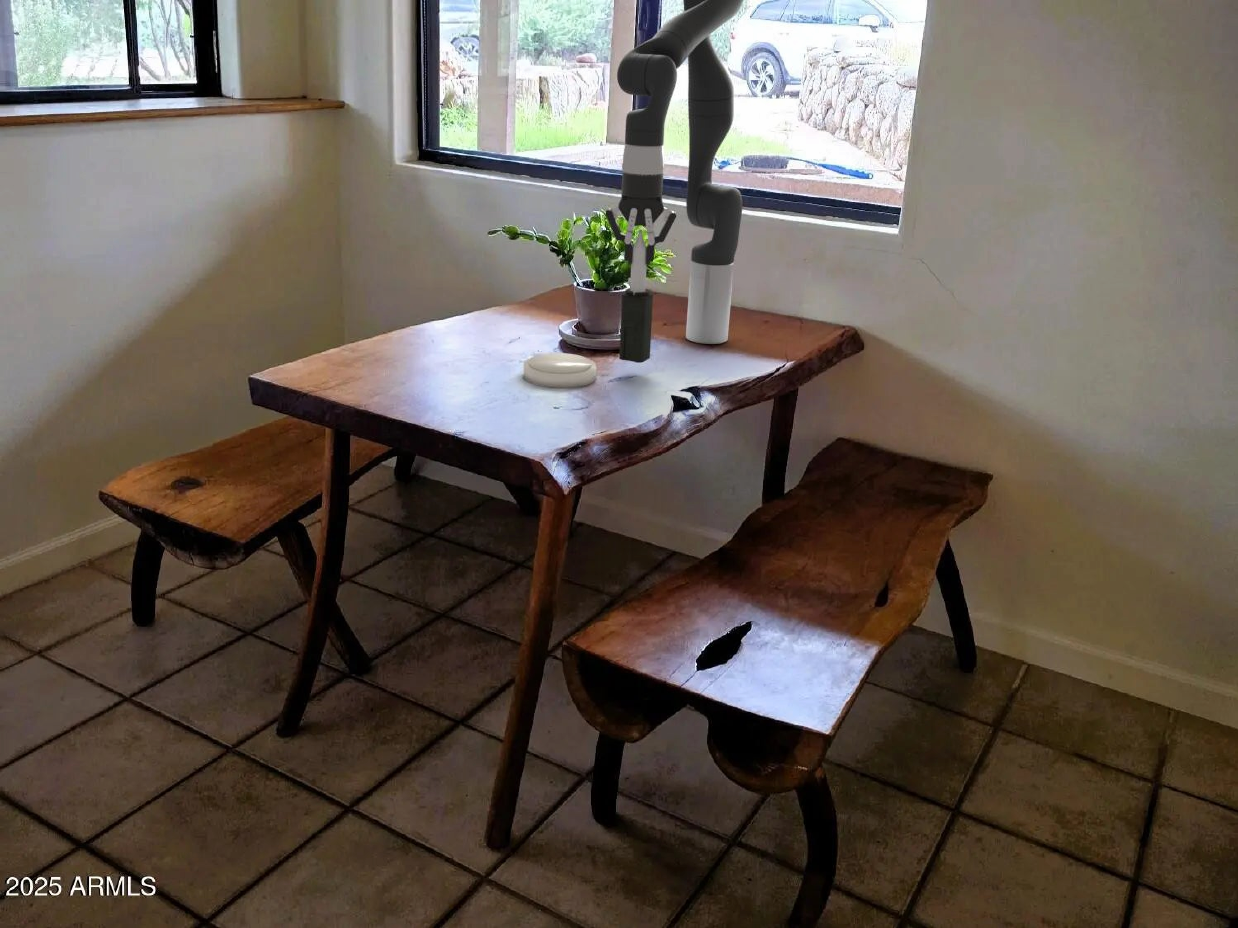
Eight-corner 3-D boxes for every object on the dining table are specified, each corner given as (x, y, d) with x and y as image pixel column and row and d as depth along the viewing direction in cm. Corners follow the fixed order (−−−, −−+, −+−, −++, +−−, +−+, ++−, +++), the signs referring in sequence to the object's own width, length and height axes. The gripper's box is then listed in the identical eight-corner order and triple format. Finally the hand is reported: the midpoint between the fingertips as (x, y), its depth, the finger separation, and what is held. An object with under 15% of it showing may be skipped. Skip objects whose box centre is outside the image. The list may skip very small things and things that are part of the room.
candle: (651, 357, 221) (658, 229, 211) (641, 363, 216) (647, 233, 207) (628, 353, 222) (633, 226, 213) (617, 359, 218) (622, 230, 209)
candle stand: (528, 364, 224) (528, 349, 223) (598, 368, 223) (599, 353, 222) (518, 385, 211) (519, 370, 210) (593, 389, 210) (593, 374, 209)
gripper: (681, 169, 209) (676, 261, 216) (606, 165, 210) (603, 257, 216) (681, 174, 202) (675, 269, 209) (603, 171, 203) (600, 266, 209)
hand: (638, 263), depth 212 cm, fingers closed on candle, 3 cm apart
